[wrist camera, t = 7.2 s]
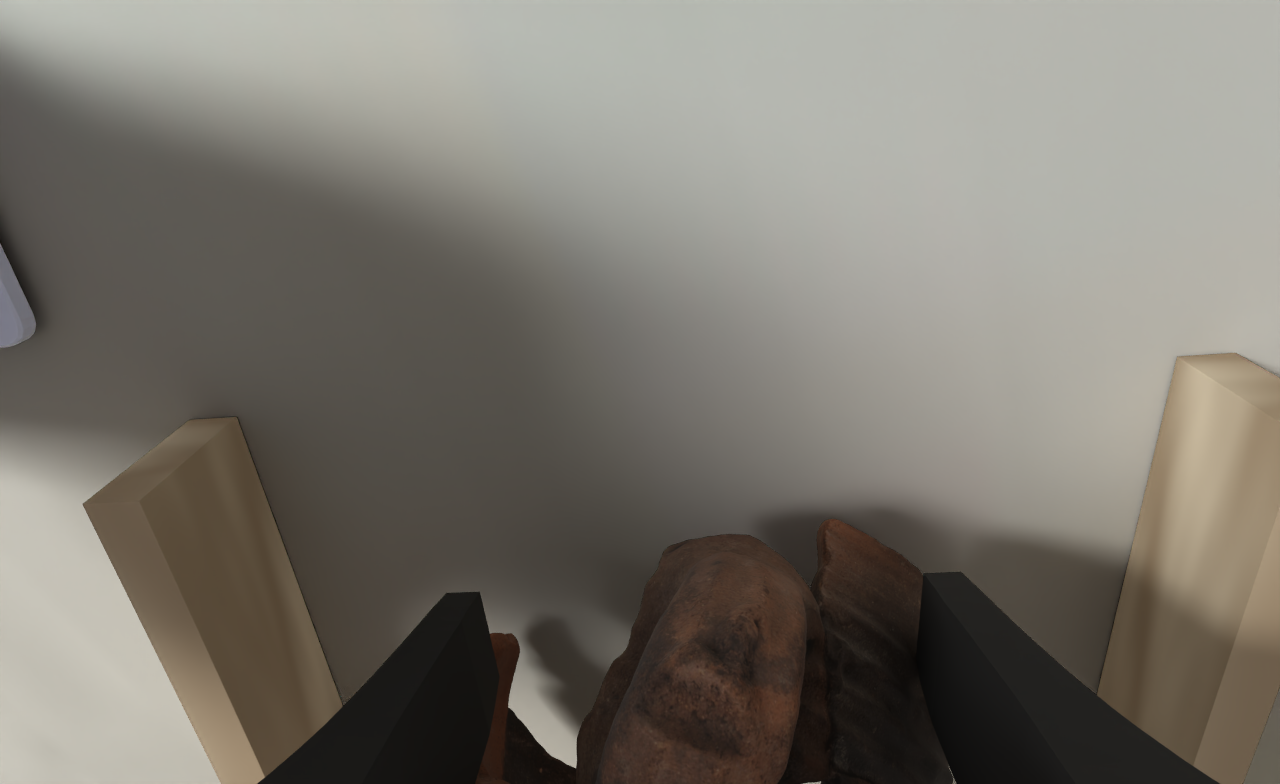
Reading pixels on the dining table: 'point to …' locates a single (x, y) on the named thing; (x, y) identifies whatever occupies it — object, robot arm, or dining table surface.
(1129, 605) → the wooden tray
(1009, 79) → the dining table surface
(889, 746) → the brown piece
